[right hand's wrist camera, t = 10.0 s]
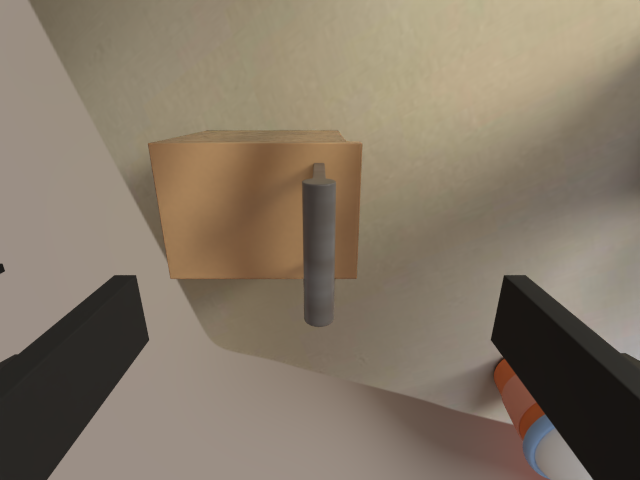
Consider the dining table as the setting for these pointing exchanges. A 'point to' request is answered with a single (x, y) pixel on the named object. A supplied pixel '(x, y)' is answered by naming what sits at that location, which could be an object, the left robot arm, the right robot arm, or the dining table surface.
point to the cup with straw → (537, 430)
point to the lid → (262, 213)
